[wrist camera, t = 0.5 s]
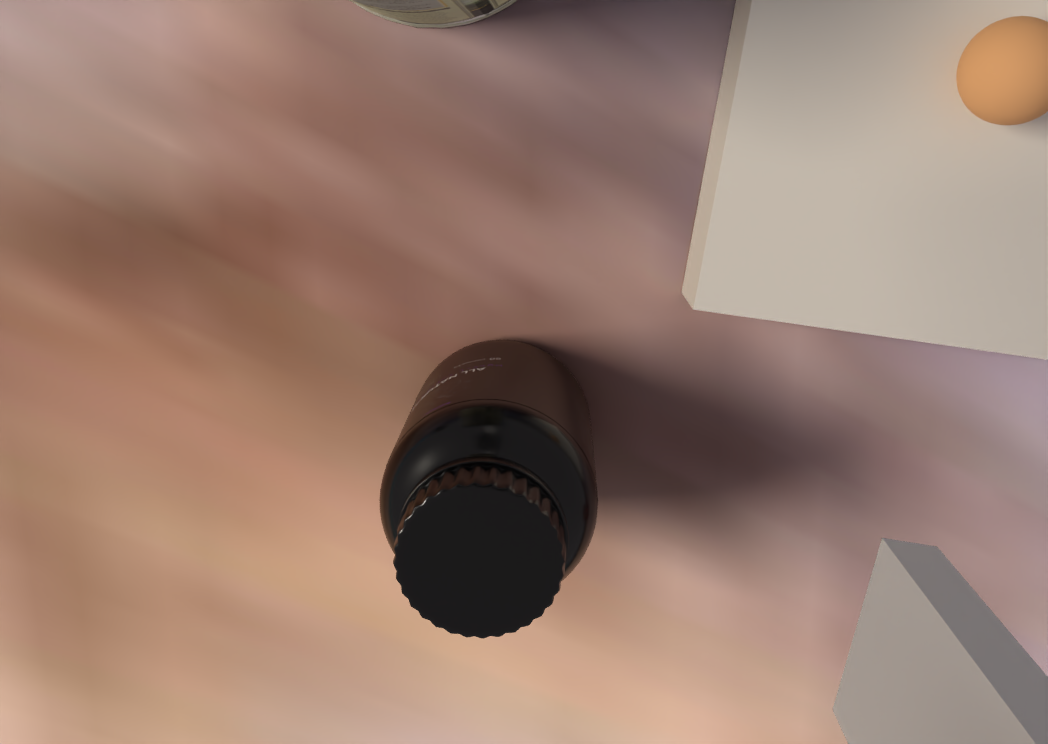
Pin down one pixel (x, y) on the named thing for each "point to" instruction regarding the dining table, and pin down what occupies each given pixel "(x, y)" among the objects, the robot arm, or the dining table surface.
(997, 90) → the ball
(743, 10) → the hole board
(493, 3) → the coffee can
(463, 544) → the supplement bottle
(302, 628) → the dining table surface
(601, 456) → the dining table surface
